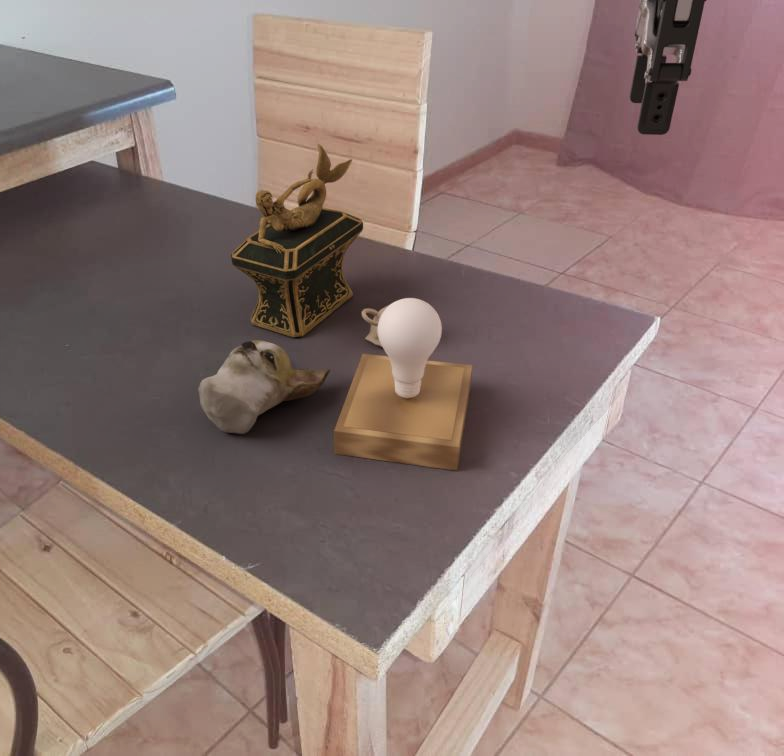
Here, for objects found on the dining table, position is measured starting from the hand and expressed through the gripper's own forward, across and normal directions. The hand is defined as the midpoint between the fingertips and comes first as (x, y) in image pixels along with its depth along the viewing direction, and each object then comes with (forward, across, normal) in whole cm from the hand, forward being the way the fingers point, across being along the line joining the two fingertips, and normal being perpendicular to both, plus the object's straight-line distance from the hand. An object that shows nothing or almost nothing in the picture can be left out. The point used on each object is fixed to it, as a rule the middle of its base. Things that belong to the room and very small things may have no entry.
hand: (647, 116), depth 63 cm
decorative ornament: (+30, +10, +22) cm, 39 cm away
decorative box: (+30, +17, +34) cm, 49 cm away
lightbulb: (+27, -5, +18) cm, 33 cm away
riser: (+30, -5, +18) cm, 35 cm away
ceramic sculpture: (+30, -6, +34) cm, 46 cm away
